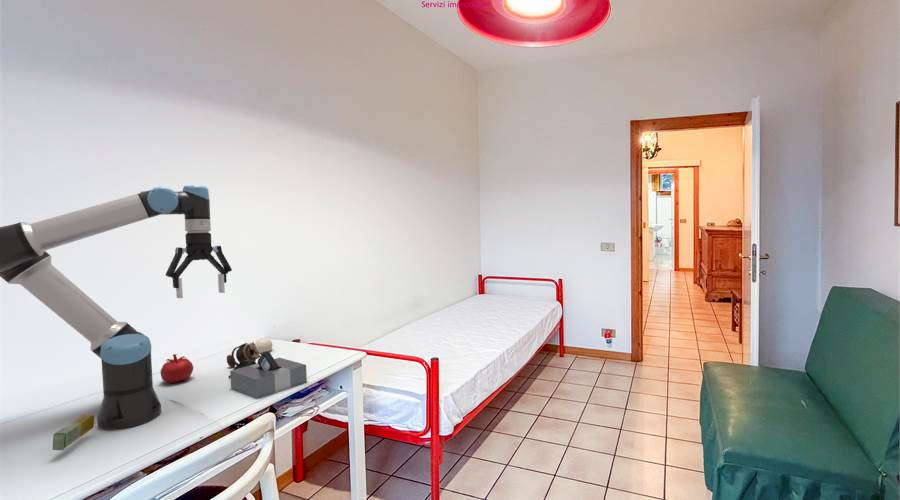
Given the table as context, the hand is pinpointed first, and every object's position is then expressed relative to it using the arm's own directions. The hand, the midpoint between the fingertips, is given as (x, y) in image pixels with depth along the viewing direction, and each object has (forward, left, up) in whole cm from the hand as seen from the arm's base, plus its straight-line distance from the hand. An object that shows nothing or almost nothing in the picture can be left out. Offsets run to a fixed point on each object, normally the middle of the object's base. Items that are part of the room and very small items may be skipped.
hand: (201, 295), depth 152 cm
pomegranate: (-3, +15, -31) cm, 35 cm away
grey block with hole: (+12, -19, -31) cm, 38 cm away
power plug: (+9, -1, -33) cm, 34 cm away
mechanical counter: (+16, +7, -31) cm, 35 cm away
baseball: (+33, +20, -31) cm, 49 cm away
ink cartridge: (+12, -22, -26) cm, 36 cm away
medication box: (-38, -13, -31) cm, 51 cm away
